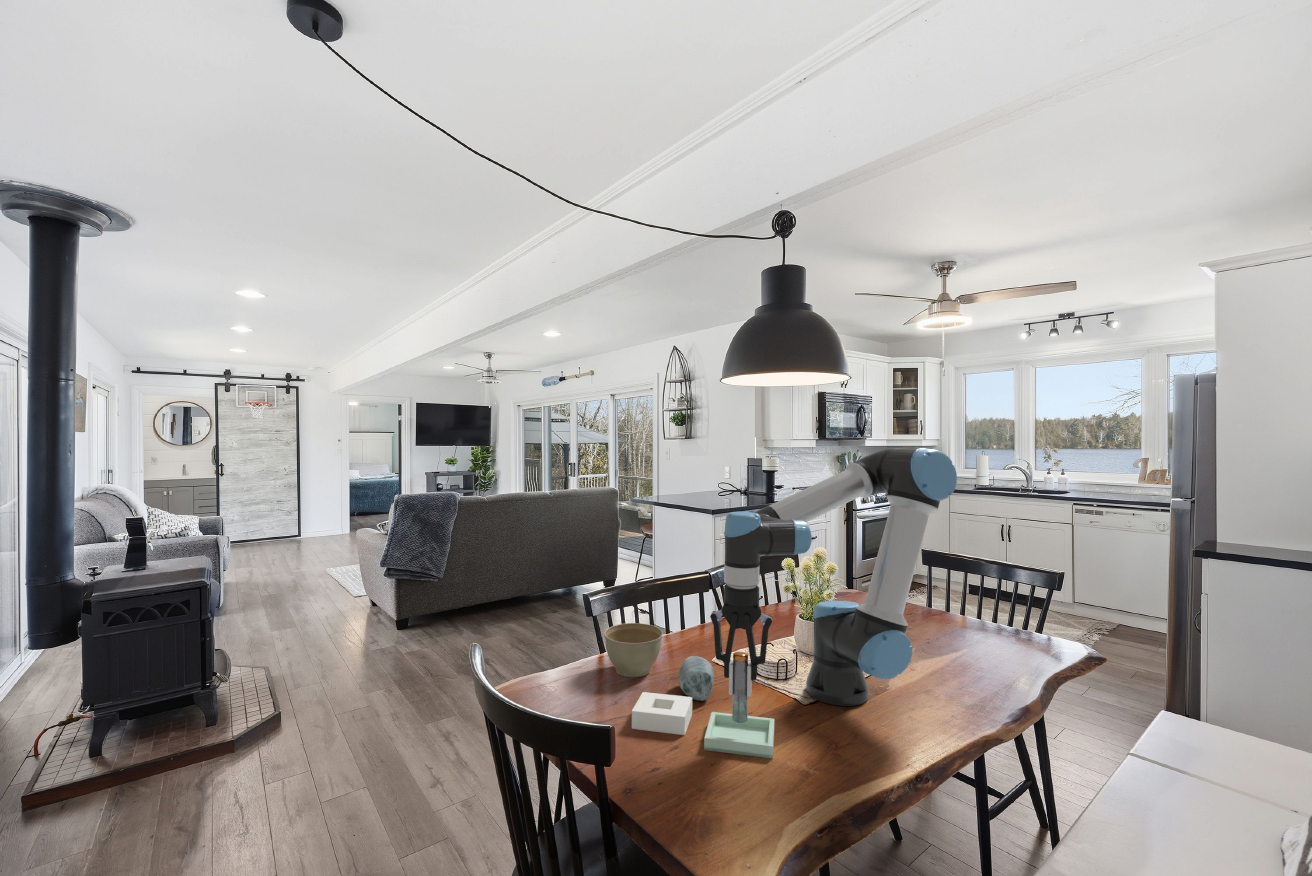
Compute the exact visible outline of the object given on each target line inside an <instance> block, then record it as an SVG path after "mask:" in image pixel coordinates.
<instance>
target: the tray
mask: <svg viewBox="0 0 1312 876" xmlns="http://www.w3.org/2000/svg"><path fill="white" fill-rule="evenodd" d="M706 727H707V728H706V730H705V734H704V738H703V739H704V740H703V743H704V744H703V745H704V746H703V749H704V750H703V751H710V752H719V753H724V754H725V753H727V754H731V755H732V754H734V755H740V756H749V757H757V758H764V759H771V760H773V758H774V757H773V756H774V744H775V743H774V741H775V740H774V739H775V718H770V717H762V716H754V715H753V716H752V715H747V722H745V723H737V722H734V721H733V720H732V713H726V712H716V711H711V713H710V717H709V720H708V724H707V726H706Z"/></svg>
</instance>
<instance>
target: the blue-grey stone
mask: <svg viewBox="0 0 1312 876" xmlns="http://www.w3.org/2000/svg"><path fill="white" fill-rule="evenodd" d="M679 668H680V669H679V672H678V678H677V679H678V686H679V688H680V689H681V691H682V692H683V693H684V694H685V695H686V696H687V697H692V700H695V701H700V702H703V701H706V700H707V699H708V698H709V697H710V695H711V694H712V690H713V688H714V683H715V682H714V679H715V672H714V667H713V665H712V664H711V663H710V662H709V661H708V660H707V659H705V658H704V657H702V656H699V655H691V656H689V657H687V658H685V660H683V662H682V664H681V665H680V667H679Z"/></svg>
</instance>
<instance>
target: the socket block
mask: <svg viewBox="0 0 1312 876" xmlns="http://www.w3.org/2000/svg"><path fill="white" fill-rule="evenodd" d="M692 717H693V699H692V697H689V696H683V695H676V694H665V693H656V692H646V691H642V693H641V694H640V696H639V697H638V700H637V701H636V702H635V704H634V706H633V707H632V710H631V729H632V730H638V731H648V732H656V733H662V734H663V733H664V734H670V735H671V734H673V735H679V736H680V735H681V736H686V733H687V730H688V727H689V725H690V721H691V719H692Z"/></svg>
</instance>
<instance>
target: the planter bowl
mask: <svg viewBox="0 0 1312 876" xmlns="http://www.w3.org/2000/svg"><path fill="white" fill-rule="evenodd" d="M663 633H664V632H663V629H660V627H658V626H655V625H652V624H648V623H638V622H630V623H629V622H628V623H619V624H615V625H612V626H610V627H607V628H606V629H605V631H604V635H603V636H604V639H605V640H604V643H605V648H606V649H605V650H606V653H607V656H608V657H609V661H610V662H611V664H612V665H613V667H615V672H616V674H618V675H619V676H622V677H625V678H641V677H645V676H647V675H648V674H650V672H651V669H652V667H653V665H654V664H655V663H656V662H657V659H658V657H659V654H660V651H661V647H662V642H663V641H662V639H663Z"/></svg>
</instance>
